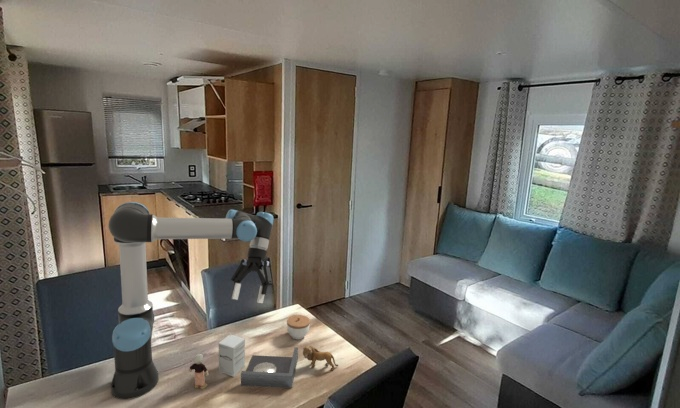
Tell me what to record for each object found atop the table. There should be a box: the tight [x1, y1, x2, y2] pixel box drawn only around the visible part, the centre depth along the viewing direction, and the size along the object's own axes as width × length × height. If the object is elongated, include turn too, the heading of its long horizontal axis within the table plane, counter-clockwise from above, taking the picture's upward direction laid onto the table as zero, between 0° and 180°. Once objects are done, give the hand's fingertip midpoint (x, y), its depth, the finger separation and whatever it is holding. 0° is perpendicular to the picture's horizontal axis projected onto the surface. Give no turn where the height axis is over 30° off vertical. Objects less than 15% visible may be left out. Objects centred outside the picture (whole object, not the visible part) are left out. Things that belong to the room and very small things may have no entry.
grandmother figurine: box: [188, 353, 209, 390], centre depth 131 cm, size 8×4×13 cm, turn 90°
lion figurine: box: [302, 345, 339, 372], centre depth 146 cm, size 15×5×9 cm, turn 92°
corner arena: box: [240, 347, 299, 389], centre depth 142 cm, size 19×18×5 cm
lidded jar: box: [286, 314, 311, 340], centre depth 167 cm, size 11×11×9 cm
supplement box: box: [218, 334, 246, 378], centre depth 141 cm, size 7×7×13 cm
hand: (246, 301), depth 143 cm, fingers open, 13 cm apart
